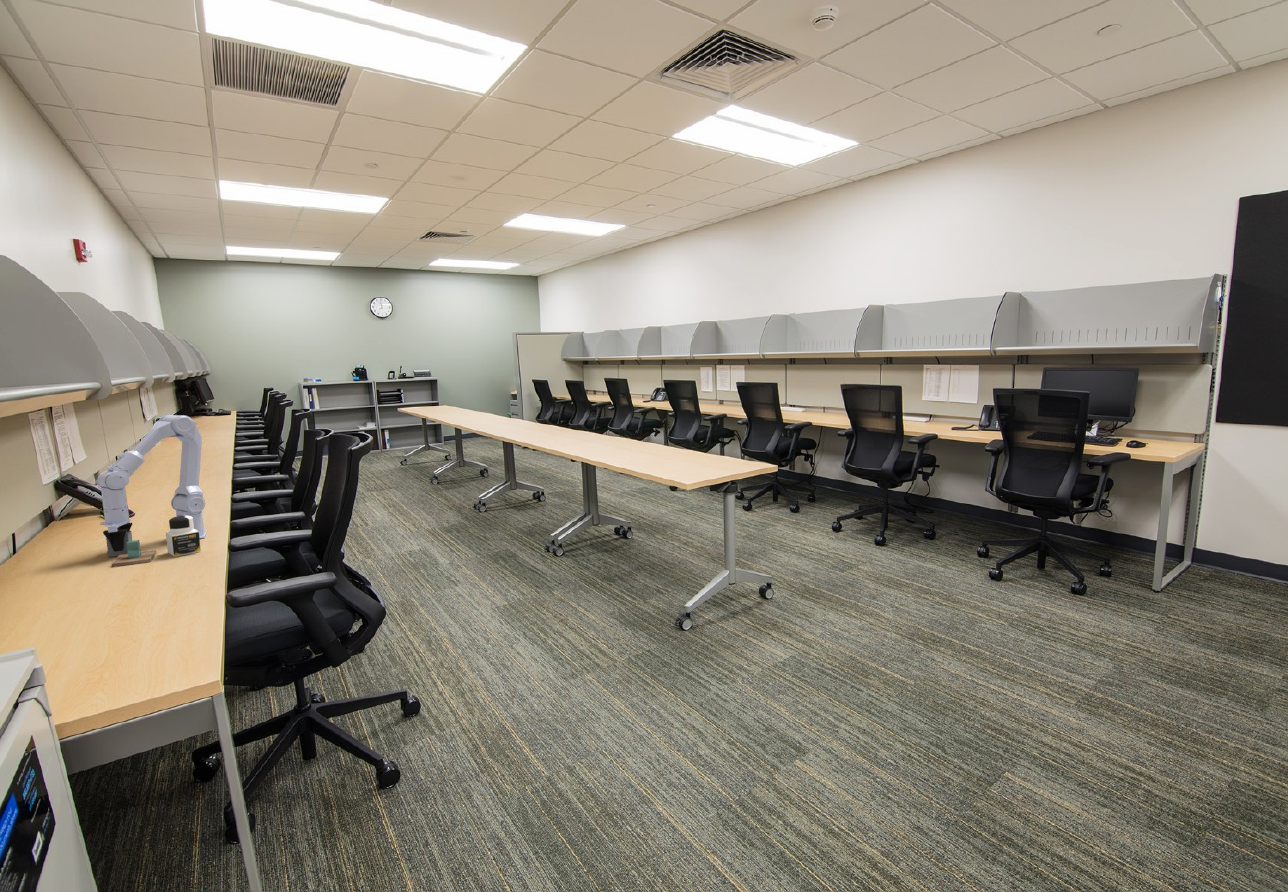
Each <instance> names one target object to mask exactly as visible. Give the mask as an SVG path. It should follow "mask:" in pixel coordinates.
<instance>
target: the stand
mask: <svg viewBox="0 0 1288 892" xmlns="http://www.w3.org/2000/svg"><path fill="white" fill-rule="evenodd" d="M127 551H128V554H122V555H119V556H117V557H116V558H115V560H113V562H112V563H111V568H115V566H117V567H122V566H123V567H124V566H129V565H130V564H131V565H138V564H139V565H140V564H145V563H151V562H152V561H153V559H154V557H156V555H157V549H155V550H147V551H141V545H140V539H135V540H133V539H132V541H128V542H127Z"/></svg>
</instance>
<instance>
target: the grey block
mask: <svg viewBox="0 0 1288 892" xmlns="http://www.w3.org/2000/svg"><path fill="white" fill-rule="evenodd" d="M105 540H106V547H107V556H108V558H111V557H116V556H117V557H118V556H119V555H122V554H128V551H127V542H128V541H133V533H132V530H130V531H127V532H126V534H125V538H124V548H123V551H115V552H114V550H113V549H112V546H111V544H110V542H109V540H108V539H107V537H106V536H105Z"/></svg>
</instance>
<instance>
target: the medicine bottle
mask: <svg viewBox="0 0 1288 892" xmlns="http://www.w3.org/2000/svg"><path fill="white" fill-rule="evenodd" d="M168 525H169V531H166V532H165V538H166V547H167V548H166V549H167V553H168V554H169V555H171V556H173V557H174V558H176V557H180V556H186V555H191V554H195V553H200V552H201V550H202V549H201V541H200V539H201V538H199V531H197V530H196V529H194V525H193V517H191V516H177V517H176V516H174V517H171V518H169V520H168Z"/></svg>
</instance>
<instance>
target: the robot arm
mask: <svg viewBox="0 0 1288 892" xmlns="http://www.w3.org/2000/svg"><path fill="white" fill-rule="evenodd" d="M169 437H170V438H171V437H175V438H177V440H179V441H180V442H181V454H180V455H181V456H180V469H179V473H180V474H179V484H178V487H177V488H176V489H175V491H174V495H173V497H172V499H171V501H170V505H171V508H172V509H173V510H175V515H176V516H175V517H177V516H191V517H193V525H194V529H196V530H197V531H199V538H200V539H205V538H206V536H205V535H207V532H208V530H205V528H204V518H203V510H204V509H205V508H206V501H205V498H204V492H203V490H202V489H201V488H200V486H199V484H200V470H201V460H202V458H201V456H202V444H203V437H202V434H201V433H200V431H199V429H198V427H197V422H196V421H195V420H193V419H192V418H191V417H190V416H188V415H184V414H183V415H177V414H165V415H162V416H161V417H160V418H159V420H156V421H155V422H154V423H153V425H152V427H151V429H150V430H149V431H148V432H147V433H146V434H145V436H143V438H142V439H140V441H139V442H138V444H137V445H136V446H135V447H134V448H133V449H132V450H128V451H124V452H122V453H119V455H118V456H117V457H118V458H117V460H116V461H115V462H113V464H112V465H109V466H108V467H107V468H106V469H107V470H105V471H102V472H101V473H99V474H98V476H97V479H96V480H95V484H96V485H97V486H98V487H99V488H100V490H101V500H102V508H103V514H104V515H103V516H104V521H101V522H100V523H99V526H105V527H106V528H107V530H106V529H105V530H103V531H102V533H103V536H105V538H106V537H107V539H108V540H109V542H110V544H111V546H112V549H113V550H114V552H115V551H123V548H124V538H125V534H126V532H127V531H131V528H132V526H133V522H131V519H130V513H129V506H128V499H127V491H126V489H127V488H126V486H128V485H129V483H130V477H131V476H132V475H133V474H134V473H135V472H136V471H137V470H138V469H139V468H140V467H141V466H142V465H143V464H144V463H145V455H146V454H148V453H149V452H150V451H152V449H153V448H154V447H155V446H157V444H159V442H161V441H162V440H163V439H166V438H169Z"/></svg>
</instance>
